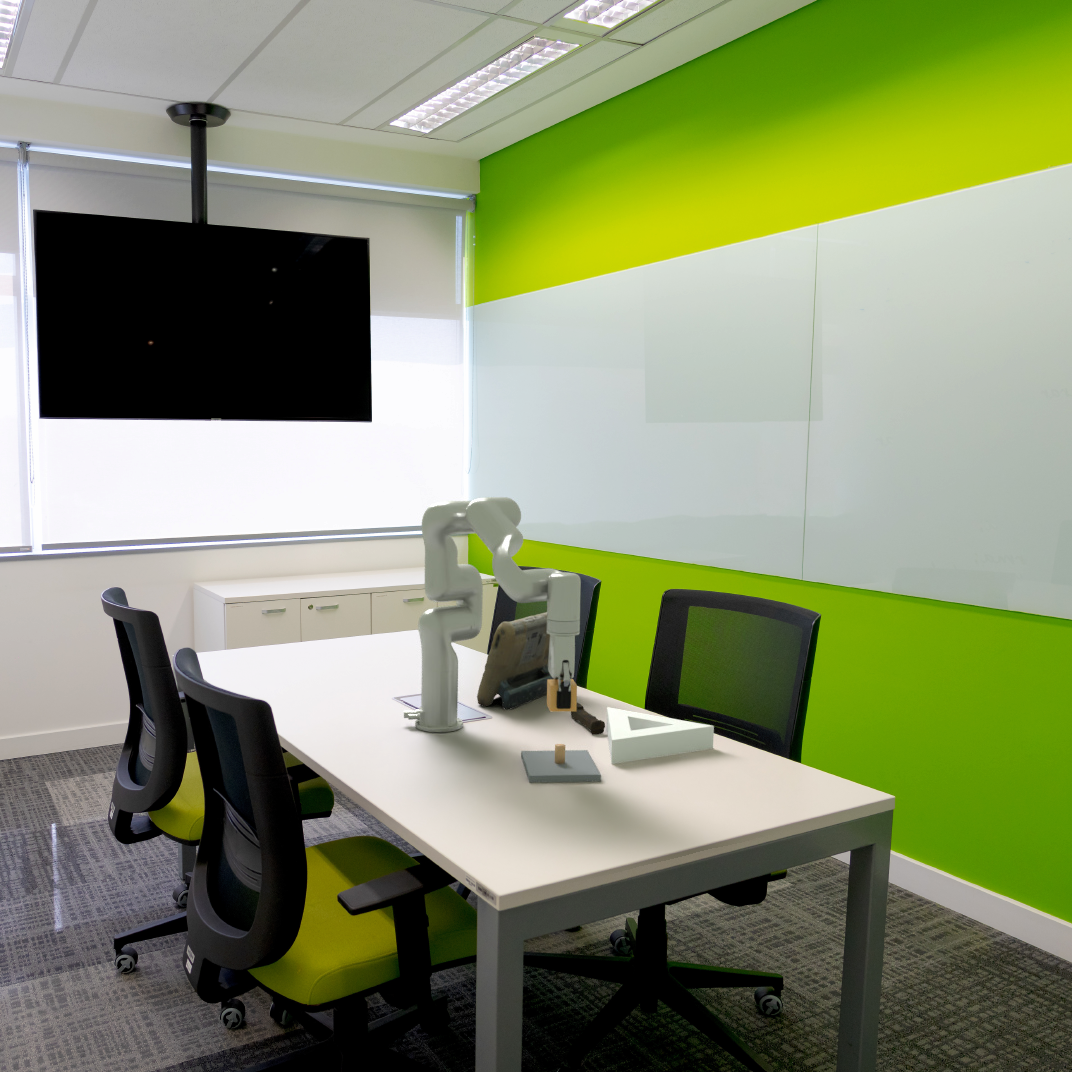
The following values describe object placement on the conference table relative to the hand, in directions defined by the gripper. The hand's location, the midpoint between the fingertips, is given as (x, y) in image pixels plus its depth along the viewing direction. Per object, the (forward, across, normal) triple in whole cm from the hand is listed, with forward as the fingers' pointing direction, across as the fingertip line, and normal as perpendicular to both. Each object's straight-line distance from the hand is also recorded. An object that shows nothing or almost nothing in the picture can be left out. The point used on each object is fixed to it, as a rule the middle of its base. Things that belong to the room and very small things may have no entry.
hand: (561, 703), depth 225 cm
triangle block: (+16, -16, +28) cm, 36 cm away
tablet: (+15, -67, -3) cm, 69 cm away
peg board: (+15, 0, 0) cm, 15 cm away
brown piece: (+16, -36, +11) cm, 41 cm away
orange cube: (+1, 0, 0) cm, 1 cm away
